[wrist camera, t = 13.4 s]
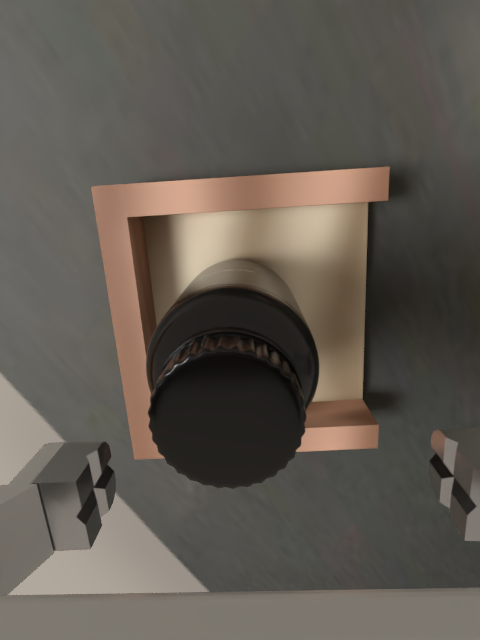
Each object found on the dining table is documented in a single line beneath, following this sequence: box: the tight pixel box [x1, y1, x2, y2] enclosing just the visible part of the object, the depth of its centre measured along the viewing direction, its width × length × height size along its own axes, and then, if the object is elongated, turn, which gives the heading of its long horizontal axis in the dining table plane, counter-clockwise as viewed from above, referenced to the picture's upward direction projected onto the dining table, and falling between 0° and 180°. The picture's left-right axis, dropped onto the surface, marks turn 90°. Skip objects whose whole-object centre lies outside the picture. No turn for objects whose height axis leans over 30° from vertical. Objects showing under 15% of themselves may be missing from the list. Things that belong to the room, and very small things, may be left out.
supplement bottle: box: [146, 259, 319, 489], centre depth 17 cm, size 7×7×12 cm
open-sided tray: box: [91, 167, 390, 459], centre depth 22 cm, size 14×15×4 cm
